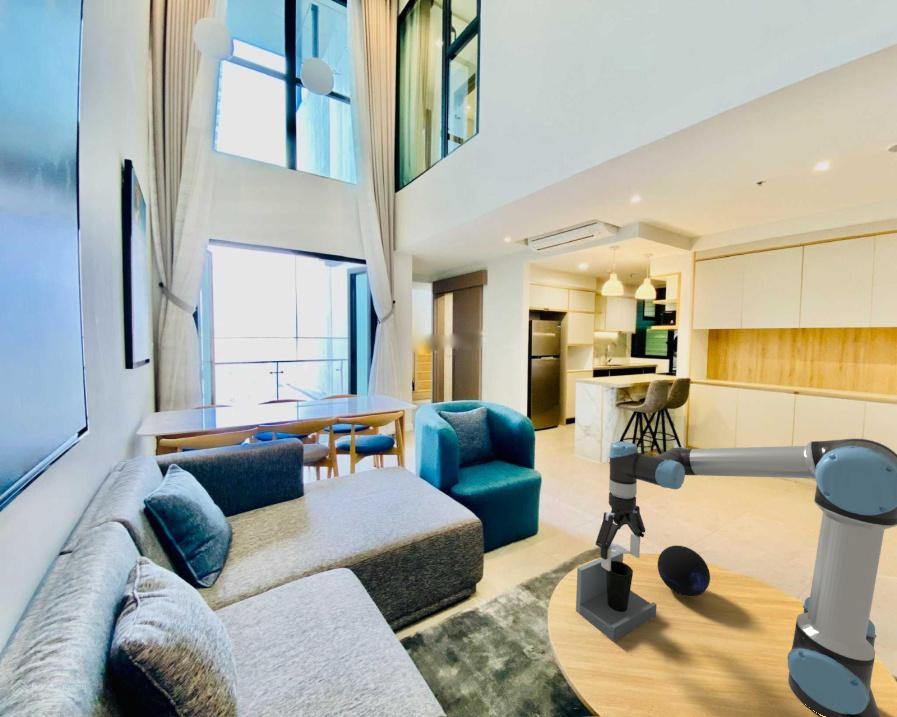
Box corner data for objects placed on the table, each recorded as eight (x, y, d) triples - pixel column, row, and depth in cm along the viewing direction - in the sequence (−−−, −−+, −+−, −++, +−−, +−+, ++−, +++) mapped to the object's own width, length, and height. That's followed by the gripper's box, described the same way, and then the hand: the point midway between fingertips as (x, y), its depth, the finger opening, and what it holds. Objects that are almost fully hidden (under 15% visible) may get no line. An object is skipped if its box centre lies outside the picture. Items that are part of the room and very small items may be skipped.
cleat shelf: (655, 616, 116) (658, 573, 115) (613, 641, 106) (615, 594, 105) (617, 590, 127) (619, 550, 127) (575, 610, 118) (577, 567, 117)
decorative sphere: (695, 614, 117) (698, 568, 116) (647, 586, 130) (649, 544, 129) (717, 596, 125) (719, 553, 124) (670, 572, 138) (672, 532, 137)
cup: (601, 607, 115) (603, 569, 114) (606, 593, 121) (608, 557, 121) (628, 618, 111) (630, 579, 110) (633, 603, 117) (634, 566, 116)
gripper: (636, 482, 123) (635, 545, 124) (583, 497, 111) (582, 567, 112) (659, 490, 117) (657, 556, 118) (605, 507, 105) (603, 581, 106)
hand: (620, 561), depth 115 cm, fingers open, 13 cm apart
